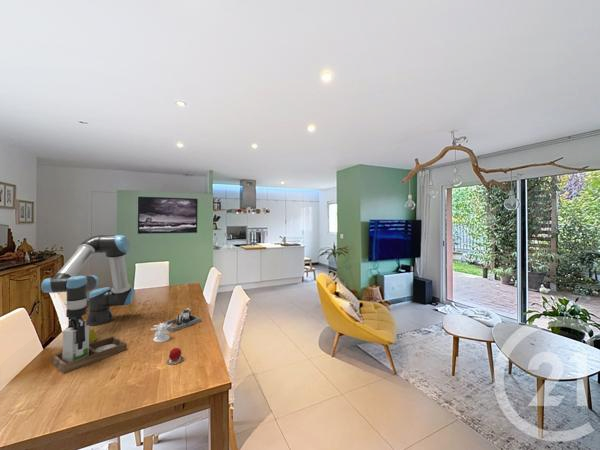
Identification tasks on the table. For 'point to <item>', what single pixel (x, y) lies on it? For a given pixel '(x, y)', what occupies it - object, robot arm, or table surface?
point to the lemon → (92, 336)
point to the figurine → (161, 332)
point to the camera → (184, 316)
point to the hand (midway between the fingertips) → (76, 352)
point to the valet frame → (172, 329)
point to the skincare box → (74, 345)
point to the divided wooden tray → (91, 354)
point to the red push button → (175, 356)
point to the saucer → (105, 347)
